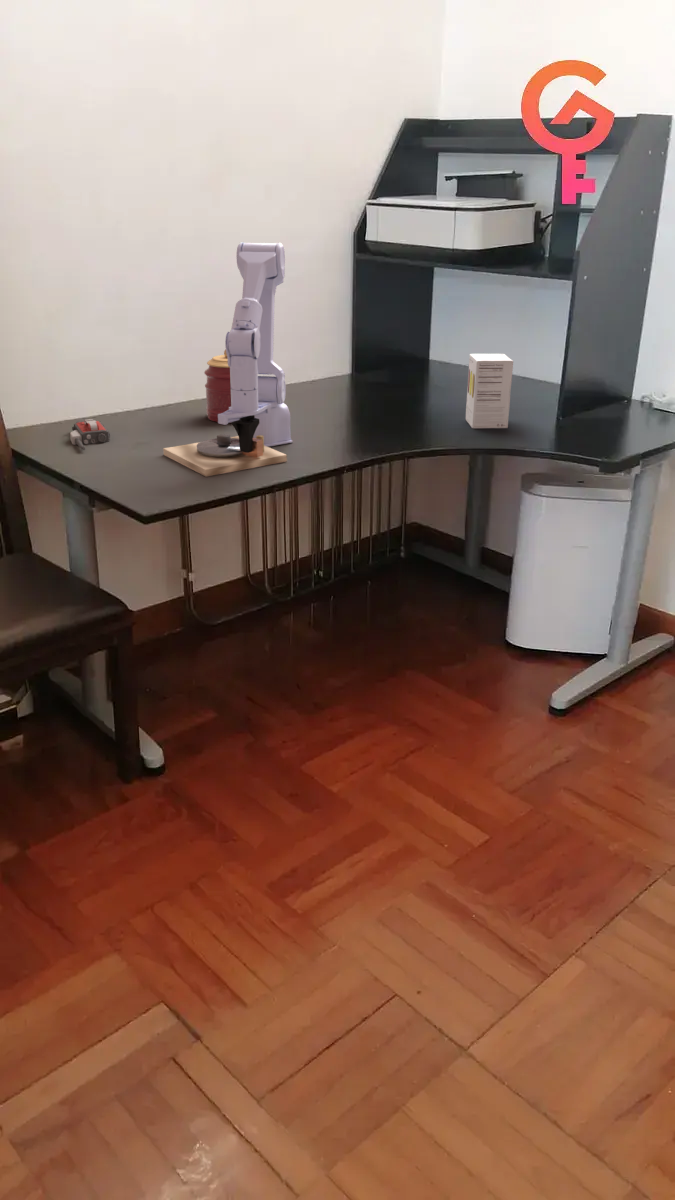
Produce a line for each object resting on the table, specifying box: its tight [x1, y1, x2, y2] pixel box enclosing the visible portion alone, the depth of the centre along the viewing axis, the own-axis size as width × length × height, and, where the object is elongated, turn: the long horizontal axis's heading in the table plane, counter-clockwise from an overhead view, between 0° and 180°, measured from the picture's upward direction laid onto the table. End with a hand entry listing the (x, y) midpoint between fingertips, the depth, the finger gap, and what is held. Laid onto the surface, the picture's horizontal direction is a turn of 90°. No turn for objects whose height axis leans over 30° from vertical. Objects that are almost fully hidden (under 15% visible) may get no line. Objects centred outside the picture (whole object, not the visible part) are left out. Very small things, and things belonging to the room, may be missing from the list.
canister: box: [203, 348, 232, 424], centre depth 241 cm, size 13×13×18 cm
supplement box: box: [465, 353, 514, 429], centre depth 236 cm, size 10×9×17 cm
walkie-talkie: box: [69, 418, 111, 451], centre depth 223 cm, size 9×4×20 cm
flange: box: [197, 437, 263, 457], centre depth 208 cm, size 16×12×4 cm
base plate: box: [162, 433, 288, 478], centre depth 209 cm, size 20×20×5 cm
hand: (246, 451), depth 204 cm, fingers closed, pressing on flange
